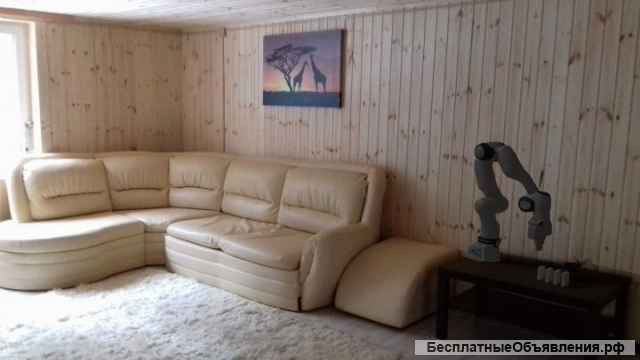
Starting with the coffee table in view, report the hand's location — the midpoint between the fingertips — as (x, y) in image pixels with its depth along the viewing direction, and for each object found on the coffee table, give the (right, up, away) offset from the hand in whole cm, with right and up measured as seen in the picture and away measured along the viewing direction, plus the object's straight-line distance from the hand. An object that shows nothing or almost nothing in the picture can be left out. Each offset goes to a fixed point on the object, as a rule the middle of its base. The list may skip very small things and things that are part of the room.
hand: (539, 244), depth 323 cm
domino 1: (0, -3, 0) cm, 3 cm away
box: (+17, -17, -2) cm, 24 cm away
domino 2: (-3, -18, -9) cm, 20 cm away
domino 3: (0, -18, -13) cm, 22 cm away
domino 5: (+6, -19, -19) cm, 28 cm away
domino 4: (+3, -19, -16) cm, 25 cm away
